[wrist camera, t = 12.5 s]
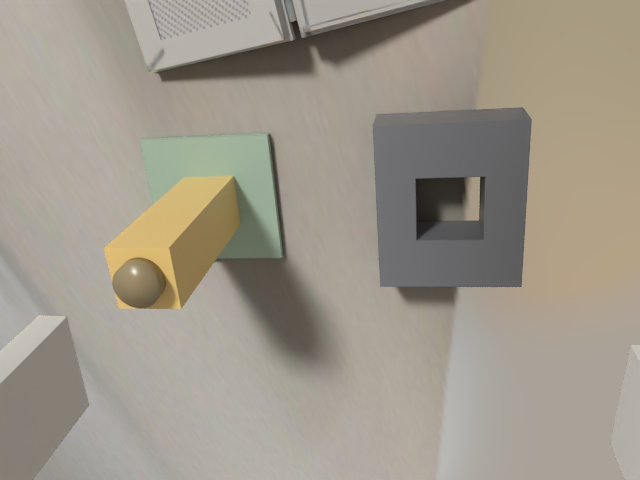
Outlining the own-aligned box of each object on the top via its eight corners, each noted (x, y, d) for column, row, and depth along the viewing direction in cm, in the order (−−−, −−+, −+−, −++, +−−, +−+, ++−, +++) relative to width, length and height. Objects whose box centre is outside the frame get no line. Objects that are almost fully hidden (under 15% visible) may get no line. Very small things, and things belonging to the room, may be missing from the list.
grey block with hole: (376, 114, 43) (372, 126, 40) (523, 107, 41) (531, 119, 38) (383, 265, 48) (380, 286, 44) (514, 264, 46) (521, 286, 43)
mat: (143, 138, 46) (139, 140, 46) (269, 133, 45) (267, 135, 44) (166, 255, 50) (164, 258, 50) (283, 254, 49) (281, 258, 48)
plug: (183, 177, 46) (95, 255, 34) (233, 175, 46) (162, 255, 33) (192, 225, 48) (111, 317, 35) (240, 224, 47) (174, 317, 35)
